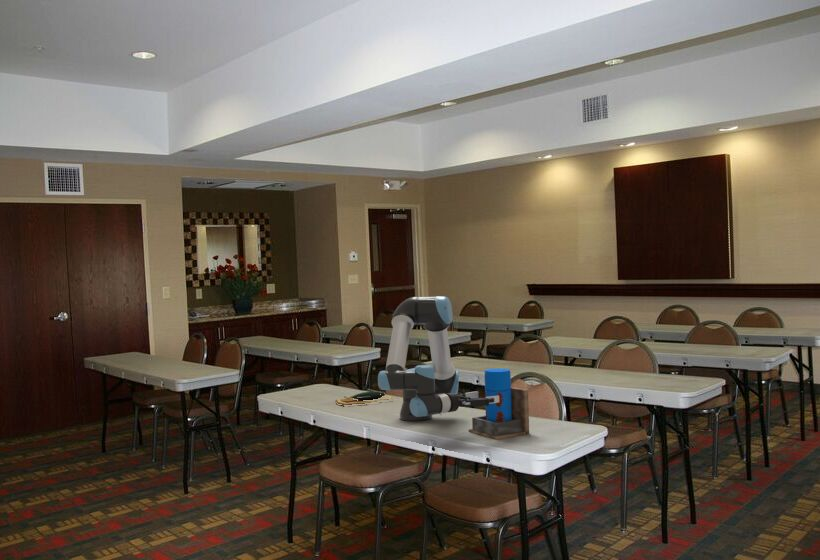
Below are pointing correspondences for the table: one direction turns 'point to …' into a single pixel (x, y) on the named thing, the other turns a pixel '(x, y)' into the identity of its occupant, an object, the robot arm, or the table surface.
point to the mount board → (506, 428)
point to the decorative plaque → (362, 397)
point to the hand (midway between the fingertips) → (488, 396)
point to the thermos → (501, 386)
